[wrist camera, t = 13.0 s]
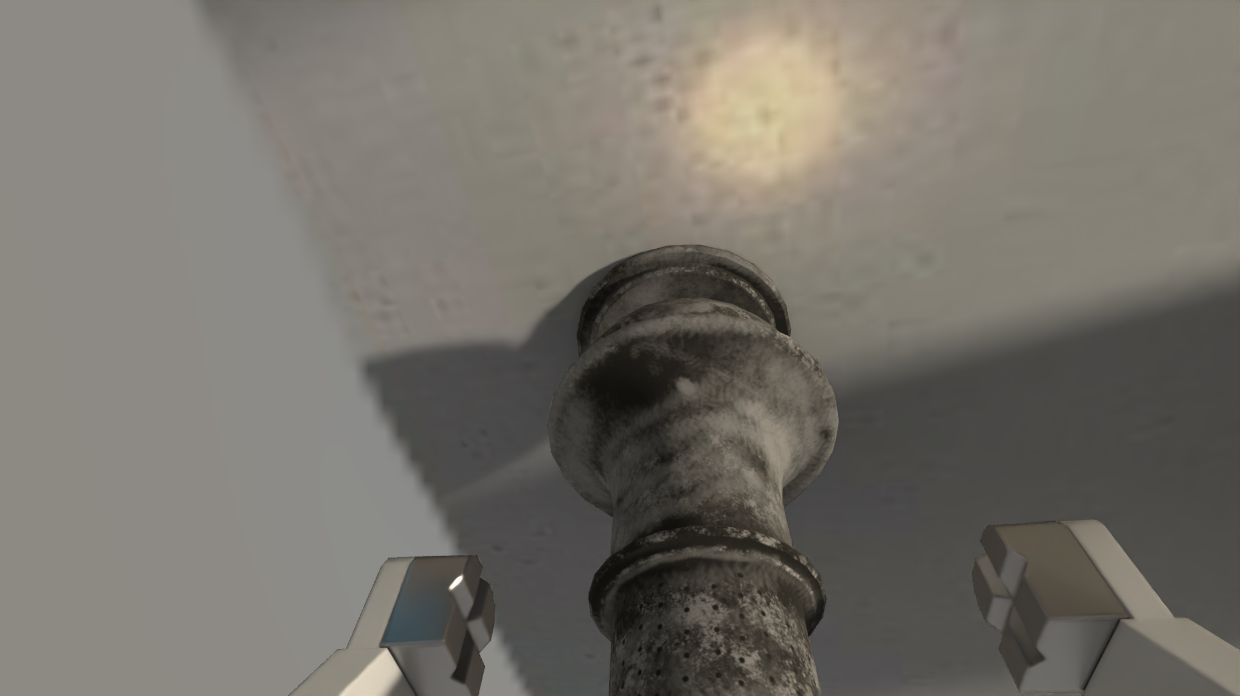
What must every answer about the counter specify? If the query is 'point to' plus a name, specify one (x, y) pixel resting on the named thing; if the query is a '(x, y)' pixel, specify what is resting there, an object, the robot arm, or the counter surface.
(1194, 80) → the counter surface
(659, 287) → the grey stone turned figure
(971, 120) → the counter surface
